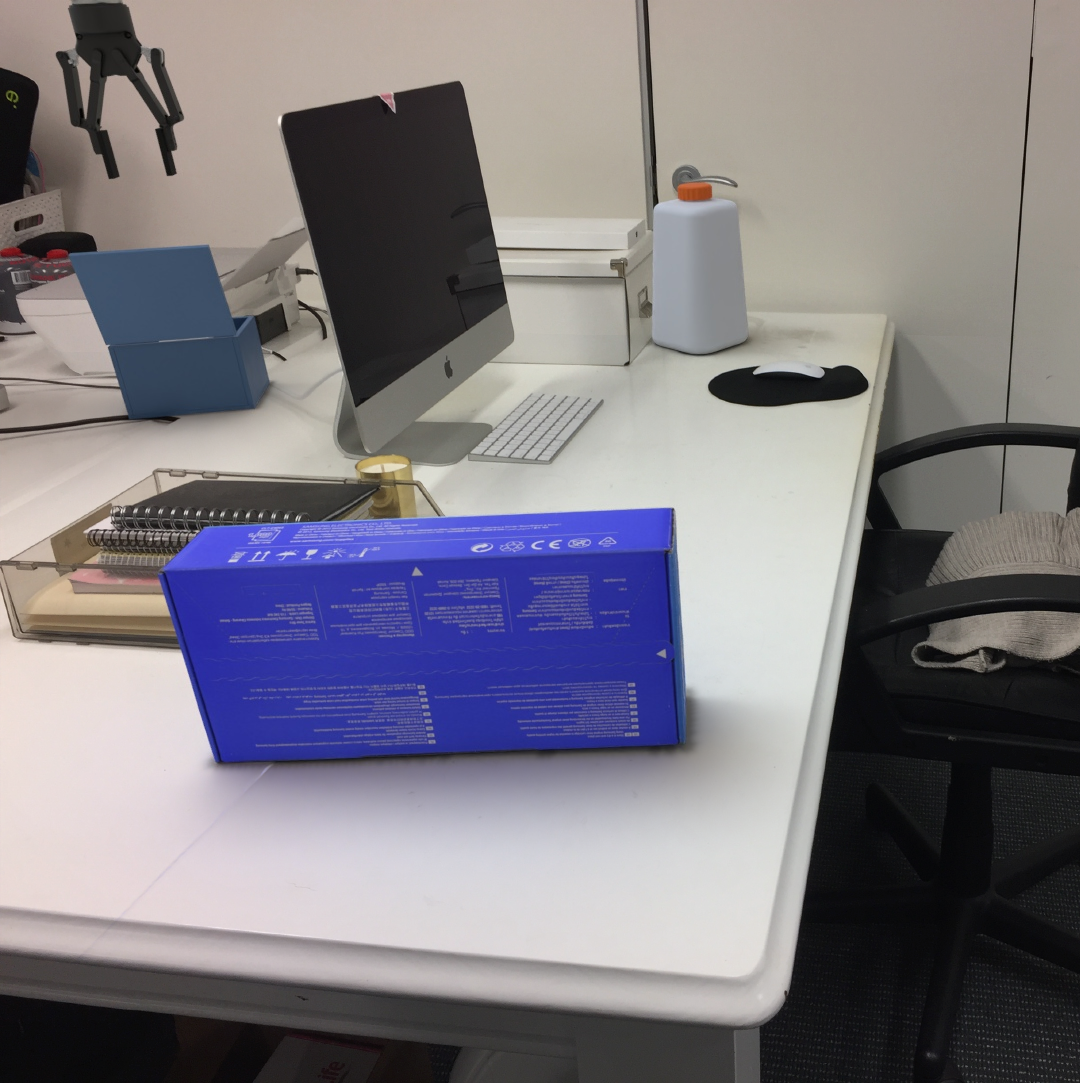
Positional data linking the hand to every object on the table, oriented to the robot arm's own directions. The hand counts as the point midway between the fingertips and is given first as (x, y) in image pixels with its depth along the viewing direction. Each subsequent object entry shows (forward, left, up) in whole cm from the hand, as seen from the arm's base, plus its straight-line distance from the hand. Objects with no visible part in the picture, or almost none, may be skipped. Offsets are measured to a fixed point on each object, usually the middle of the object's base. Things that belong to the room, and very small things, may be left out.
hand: (143, 176), depth 154 cm
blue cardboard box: (+83, -72, -35) cm, 115 cm away
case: (0, 0, -35) cm, 35 cm away
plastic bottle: (+72, +46, -35) cm, 92 cm away
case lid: (+4, -7, -16) cm, 18 cm away
